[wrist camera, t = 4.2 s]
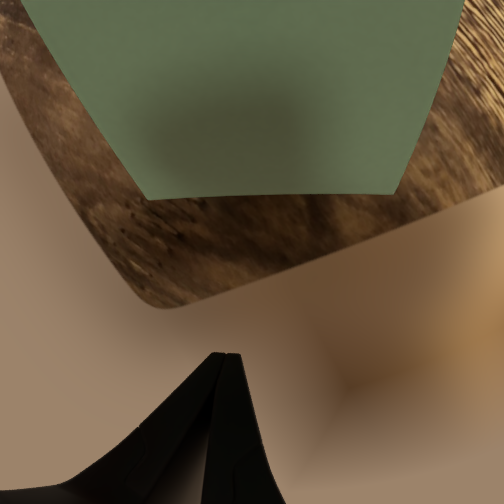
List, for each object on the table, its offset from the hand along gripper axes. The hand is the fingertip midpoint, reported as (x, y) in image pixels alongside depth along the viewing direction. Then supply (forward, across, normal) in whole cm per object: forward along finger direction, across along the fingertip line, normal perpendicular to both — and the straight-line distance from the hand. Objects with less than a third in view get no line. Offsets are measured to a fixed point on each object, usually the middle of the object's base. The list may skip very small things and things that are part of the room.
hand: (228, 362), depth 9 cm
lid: (+4, -1, -8) cm, 9 cm away
